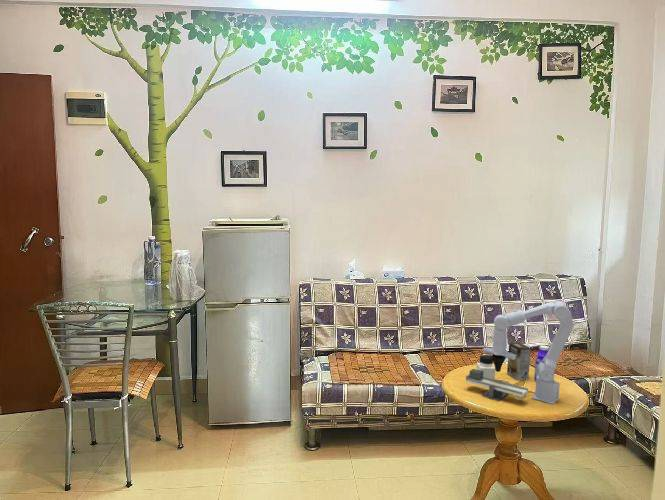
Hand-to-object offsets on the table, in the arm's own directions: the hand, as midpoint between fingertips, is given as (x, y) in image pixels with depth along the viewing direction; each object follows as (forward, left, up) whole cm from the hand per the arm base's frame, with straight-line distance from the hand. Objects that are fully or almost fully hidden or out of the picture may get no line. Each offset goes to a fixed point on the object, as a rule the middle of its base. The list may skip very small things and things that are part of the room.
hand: (498, 371), depth 240 cm
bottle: (-10, -28, -10) cm, 32 cm away
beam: (-1, +4, -8) cm, 9 cm away
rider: (+8, +4, -5) cm, 11 cm away
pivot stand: (-1, +4, -10) cm, 11 cm away
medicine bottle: (+11, -11, -10) cm, 19 cm away
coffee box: (+1, -26, -10) cm, 28 cm away
